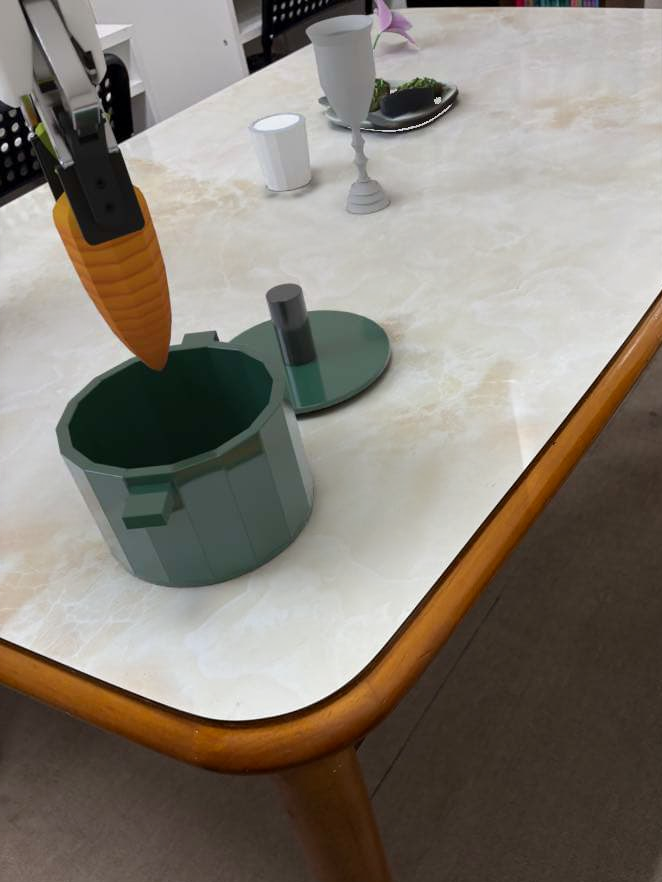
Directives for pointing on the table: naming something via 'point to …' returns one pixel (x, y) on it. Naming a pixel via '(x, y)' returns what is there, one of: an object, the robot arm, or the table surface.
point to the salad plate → (402, 104)
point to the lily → (391, 21)
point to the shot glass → (282, 150)
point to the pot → (190, 462)
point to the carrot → (122, 278)
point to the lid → (318, 349)
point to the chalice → (350, 92)
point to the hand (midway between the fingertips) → (100, 215)
